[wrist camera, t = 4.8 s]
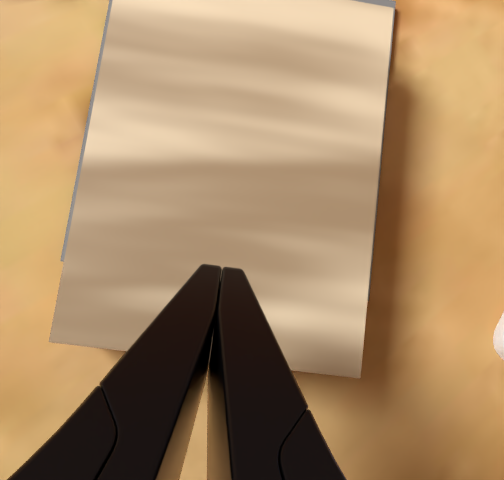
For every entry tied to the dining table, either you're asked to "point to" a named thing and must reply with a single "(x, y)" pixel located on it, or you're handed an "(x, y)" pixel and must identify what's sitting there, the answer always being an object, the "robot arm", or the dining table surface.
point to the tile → (232, 170)
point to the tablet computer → (499, 337)
